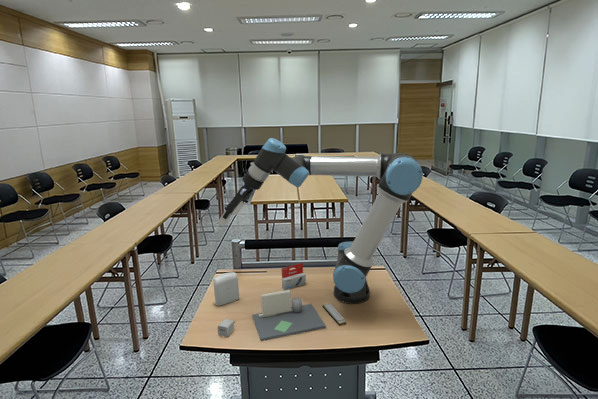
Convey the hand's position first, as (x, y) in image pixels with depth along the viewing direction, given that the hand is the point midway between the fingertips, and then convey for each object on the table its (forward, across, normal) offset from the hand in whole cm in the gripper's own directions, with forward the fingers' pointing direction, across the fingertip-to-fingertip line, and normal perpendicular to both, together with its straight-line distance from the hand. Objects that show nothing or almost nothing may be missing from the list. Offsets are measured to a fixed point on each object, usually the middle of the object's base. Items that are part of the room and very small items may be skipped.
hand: (227, 218), depth 147 cm
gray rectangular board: (+14, +11, +42) cm, 46 cm away
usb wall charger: (+26, +20, +26) cm, 42 cm away
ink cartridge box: (+16, -16, +39) cm, 46 cm away
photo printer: (+31, 0, +19) cm, 36 cm away
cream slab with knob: (+15, +7, +38) cm, 42 cm away
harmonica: (+5, +3, +56) cm, 56 cm away
